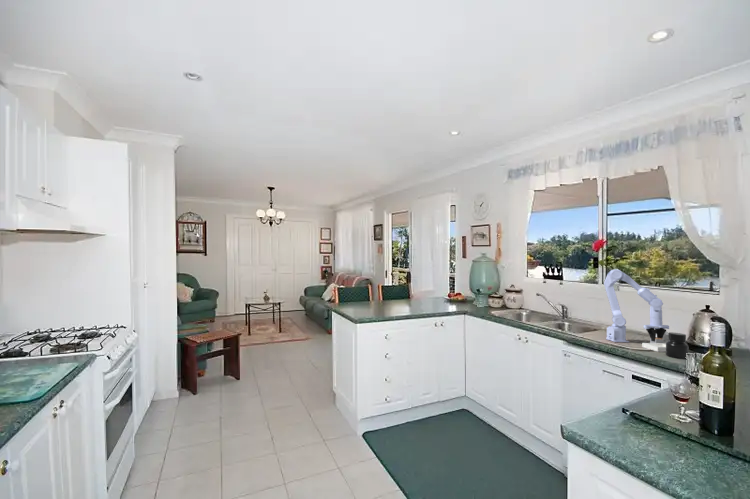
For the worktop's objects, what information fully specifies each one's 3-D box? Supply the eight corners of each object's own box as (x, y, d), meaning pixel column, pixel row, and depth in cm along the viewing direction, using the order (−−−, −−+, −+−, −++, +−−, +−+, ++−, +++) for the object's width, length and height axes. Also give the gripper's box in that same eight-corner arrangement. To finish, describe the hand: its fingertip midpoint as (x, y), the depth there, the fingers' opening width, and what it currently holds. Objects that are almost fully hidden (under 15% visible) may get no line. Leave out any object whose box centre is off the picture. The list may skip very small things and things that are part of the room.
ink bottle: (692, 358, 178) (692, 335, 178) (685, 360, 173) (685, 336, 174) (669, 353, 186) (669, 331, 187) (661, 355, 182) (661, 332, 182)
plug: (656, 347, 203) (656, 338, 203) (650, 345, 207) (650, 336, 207) (662, 347, 203) (662, 338, 204) (656, 345, 207) (656, 337, 208)
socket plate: (657, 351, 190) (657, 346, 190) (642, 347, 200) (642, 341, 200) (684, 352, 191) (684, 346, 191) (667, 347, 201) (668, 342, 201)
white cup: (666, 327, 211) (675, 333, 202) (669, 339, 212) (678, 346, 203) (651, 329, 214) (658, 335, 205) (654, 341, 215) (662, 348, 205)
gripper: (650, 318, 201) (651, 342, 201) (673, 318, 203) (674, 342, 202) (640, 317, 208) (640, 340, 208) (662, 317, 210) (663, 339, 209)
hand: (656, 341), depth 205 cm, fingers closed on plug, 4 cm apart
